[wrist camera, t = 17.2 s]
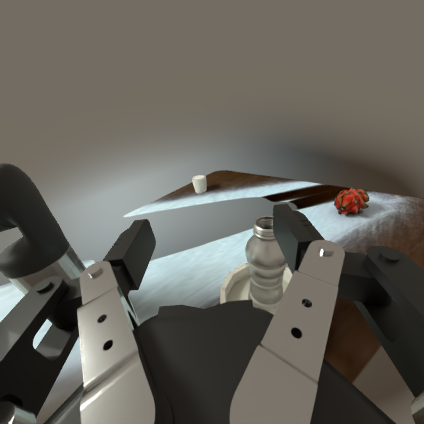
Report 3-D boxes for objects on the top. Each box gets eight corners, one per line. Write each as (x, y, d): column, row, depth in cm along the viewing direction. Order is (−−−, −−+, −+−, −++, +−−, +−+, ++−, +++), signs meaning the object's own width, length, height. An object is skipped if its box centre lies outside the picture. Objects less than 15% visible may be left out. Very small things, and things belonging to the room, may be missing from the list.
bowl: (207, 298, 41) (204, 286, 39) (265, 263, 47) (266, 251, 45) (262, 383, 27) (262, 372, 25) (332, 319, 34) (337, 305, 32)
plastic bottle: (284, 326, 33) (295, 239, 23) (246, 318, 35) (240, 234, 25) (283, 294, 38) (292, 211, 28) (250, 289, 40) (246, 210, 30)
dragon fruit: (359, 209, 64) (339, 227, 60) (340, 191, 66) (319, 207, 63) (382, 197, 56) (361, 216, 52) (360, 177, 59) (338, 194, 55)
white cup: (208, 187, 95) (206, 173, 91) (207, 192, 89) (205, 178, 85) (194, 188, 95) (192, 175, 92) (193, 194, 89) (190, 180, 86)
